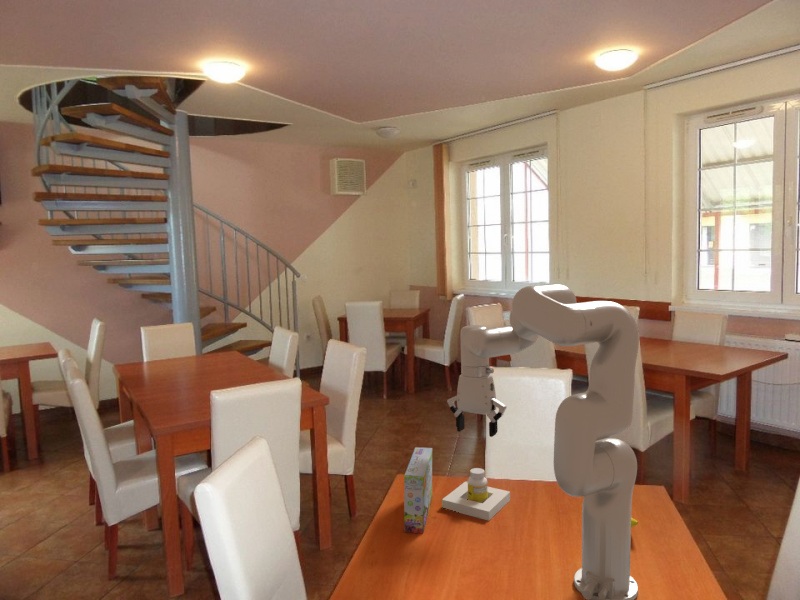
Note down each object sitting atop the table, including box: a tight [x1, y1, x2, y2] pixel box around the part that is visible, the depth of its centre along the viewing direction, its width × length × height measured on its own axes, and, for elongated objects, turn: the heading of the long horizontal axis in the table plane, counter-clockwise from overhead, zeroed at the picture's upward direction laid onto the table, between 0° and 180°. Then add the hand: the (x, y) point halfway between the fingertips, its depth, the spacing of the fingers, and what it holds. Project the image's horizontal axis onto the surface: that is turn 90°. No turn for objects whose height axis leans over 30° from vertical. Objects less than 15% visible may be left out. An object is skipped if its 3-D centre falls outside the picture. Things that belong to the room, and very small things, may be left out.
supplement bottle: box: [467, 467, 488, 503], centre depth 160 cm, size 5×5×10 cm
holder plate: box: [441, 481, 511, 521], centre depth 160 cm, size 14×14×2 cm
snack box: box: [403, 447, 433, 534], centre depth 155 cm, size 21×6×15 cm, turn 171°
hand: (476, 432), depth 158 cm, fingers open, 9 cm apart
